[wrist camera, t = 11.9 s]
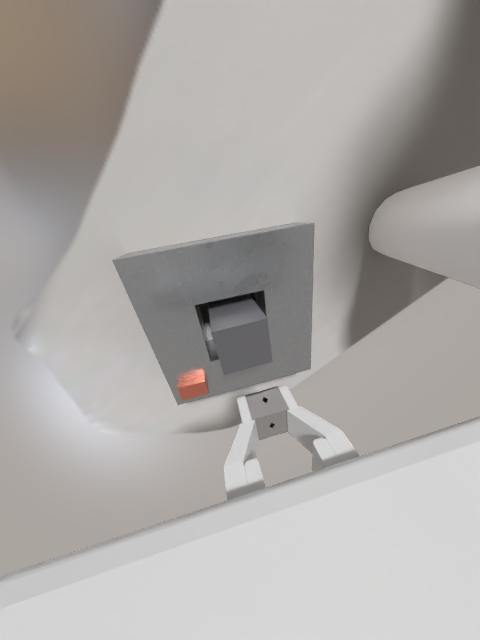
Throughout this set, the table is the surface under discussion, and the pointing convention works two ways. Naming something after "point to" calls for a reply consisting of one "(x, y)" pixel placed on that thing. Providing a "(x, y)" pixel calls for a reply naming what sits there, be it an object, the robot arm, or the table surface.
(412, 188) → the foam cup
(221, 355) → the plug
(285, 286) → the socket
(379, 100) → the table surface
